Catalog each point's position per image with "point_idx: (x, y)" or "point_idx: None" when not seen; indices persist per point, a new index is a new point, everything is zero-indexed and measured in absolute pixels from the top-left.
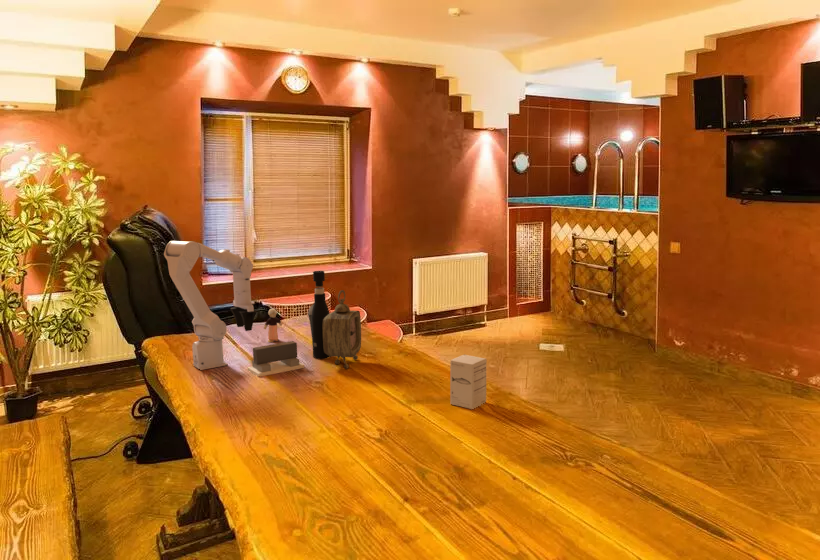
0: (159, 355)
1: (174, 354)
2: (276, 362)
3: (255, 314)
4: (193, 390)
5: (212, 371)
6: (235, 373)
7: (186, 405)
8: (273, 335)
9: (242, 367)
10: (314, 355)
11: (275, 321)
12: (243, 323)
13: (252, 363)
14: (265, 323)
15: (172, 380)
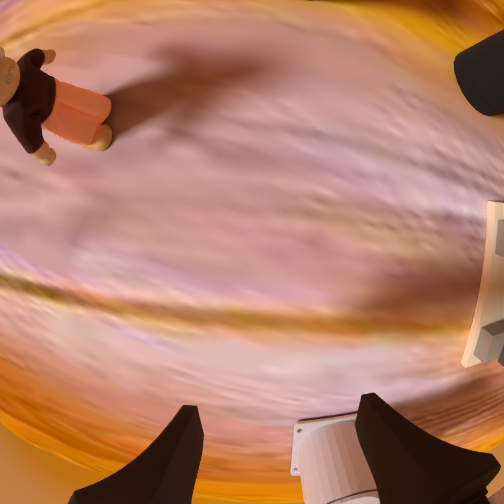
0: None
1: None
2: (493, 272)
3: (477, 453)
4: None
5: None
6: (453, 393)
7: (491, 447)
8: (88, 115)
9: (428, 373)
10: (493, 114)
11: (40, 78)
12: (193, 422)
13: (481, 359)
14: (29, 150)
15: None
